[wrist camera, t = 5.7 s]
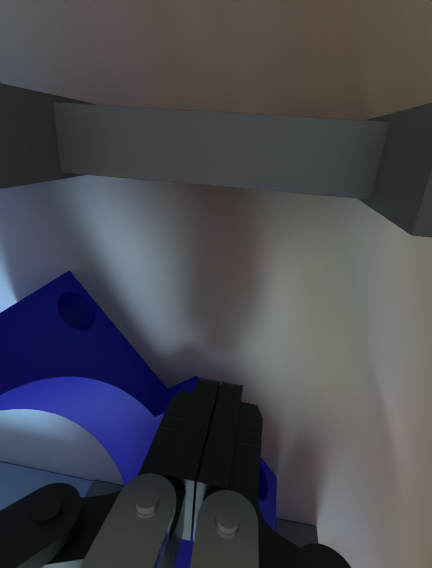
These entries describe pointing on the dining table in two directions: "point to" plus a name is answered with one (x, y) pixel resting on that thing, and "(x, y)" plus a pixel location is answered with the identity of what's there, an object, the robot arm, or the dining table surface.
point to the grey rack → (215, 178)
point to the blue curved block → (92, 380)
